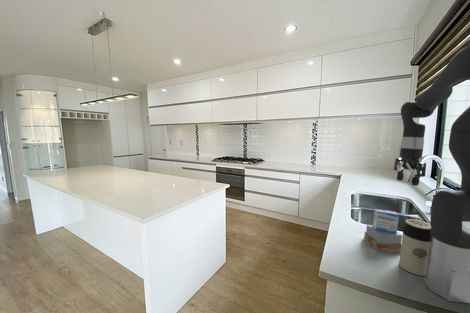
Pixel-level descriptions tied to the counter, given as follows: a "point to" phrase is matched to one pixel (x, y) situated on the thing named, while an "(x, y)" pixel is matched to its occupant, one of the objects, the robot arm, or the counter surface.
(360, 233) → the counter surface
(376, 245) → the tower base block
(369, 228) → the tower top block
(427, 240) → the travel mug
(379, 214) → the medicine box
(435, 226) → the robot arm
